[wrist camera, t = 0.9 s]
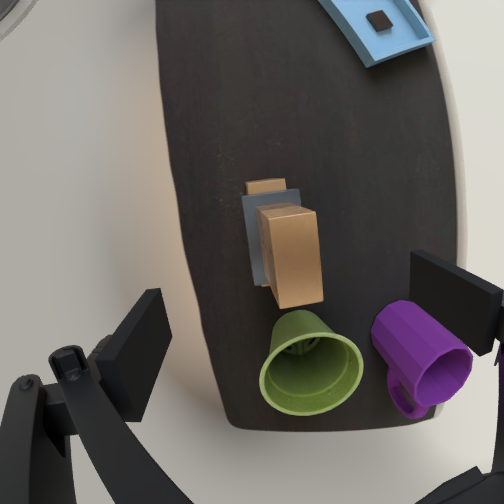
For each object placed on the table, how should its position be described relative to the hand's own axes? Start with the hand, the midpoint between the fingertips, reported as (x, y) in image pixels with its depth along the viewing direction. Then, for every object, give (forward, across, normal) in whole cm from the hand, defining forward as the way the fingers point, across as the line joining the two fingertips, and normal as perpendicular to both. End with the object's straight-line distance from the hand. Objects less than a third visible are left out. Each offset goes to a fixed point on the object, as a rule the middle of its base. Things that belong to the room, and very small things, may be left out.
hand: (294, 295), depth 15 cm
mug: (+25, +18, -21) cm, 38 cm away
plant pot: (+25, +3, -16) cm, 30 cm away
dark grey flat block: (+24, +21, +27) cm, 42 cm away
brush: (+14, 0, 0) cm, 15 cm away
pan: (+25, +19, +30) cm, 43 cm away
